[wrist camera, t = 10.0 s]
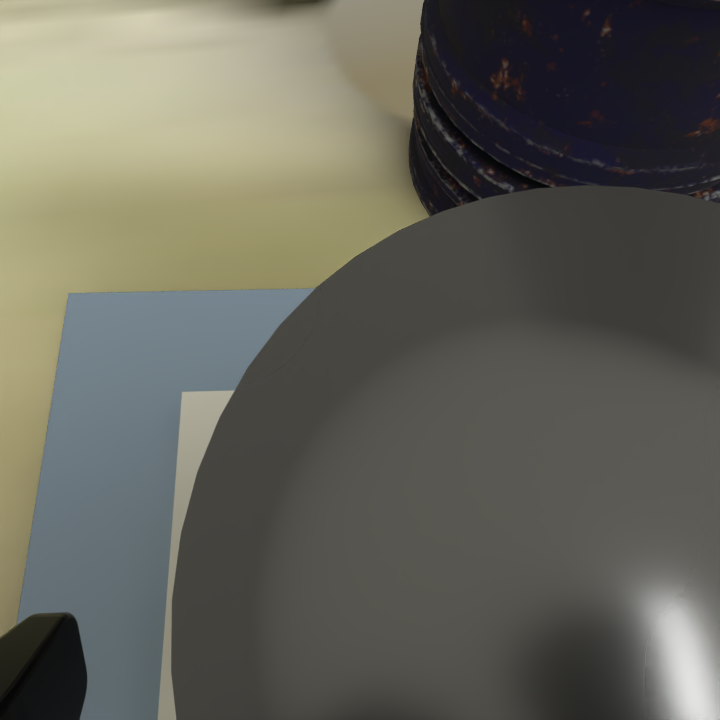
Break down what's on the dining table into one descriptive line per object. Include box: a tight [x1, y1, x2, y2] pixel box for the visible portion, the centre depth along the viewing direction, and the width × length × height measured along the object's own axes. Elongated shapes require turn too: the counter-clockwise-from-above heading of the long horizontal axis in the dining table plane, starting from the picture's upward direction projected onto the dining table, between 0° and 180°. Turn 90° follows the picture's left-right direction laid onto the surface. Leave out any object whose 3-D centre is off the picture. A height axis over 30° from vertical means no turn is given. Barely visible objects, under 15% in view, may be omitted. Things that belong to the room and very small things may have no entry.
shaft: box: [171, 185, 720, 720], centre depth 9 cm, size 5×5×13 cm
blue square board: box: [17, 289, 314, 720], centre depth 15 cm, size 18×18×3 cm
